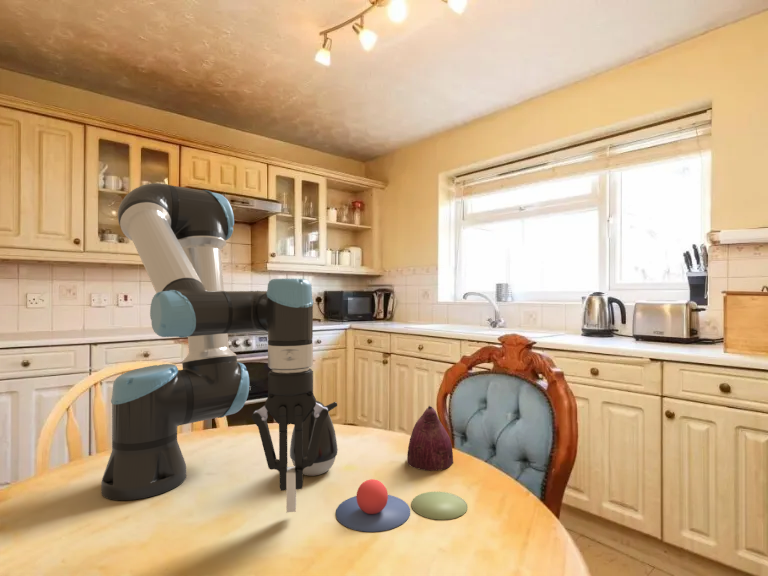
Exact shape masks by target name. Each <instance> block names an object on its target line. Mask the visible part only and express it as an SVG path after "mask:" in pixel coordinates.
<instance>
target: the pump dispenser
mask: <svg viewBox="0 0 768 576" xmlns="http://www.w3.org/2000/svg"><path fill="white" fill-rule="evenodd" d="M316 403H318V404H320V405H321V406H326V407H327V408H328V416H327V417H326V419H325V420H324V422H323V423H322V428H321V432H320V436H319V441H318V445H317V449H316V453H315V458H314V462H313V465H312V466H310V467H306V468H304V469H303V476H309V477H310V476H314V477H315V476H319V475H323V474H325V473H326V472H328V471H329V470H330V469H331V468H332V467H333V465H334V463H335V460H336V456H337V455H338V443H337V442H338V441H337V437H336V430H335V426H334V424H333V421H332V418H331V415H330V413H329V412H331V411H332V410H333V409H335V408H336V407H338V402H336V401H334V402H331V403H330V404H326V405H324V403H323V402H321V401H319V400H316ZM314 411H315V410H314V409H313V410H312V411H311V413H310V414H309V416H308V417H307V418H306V420H305V421H304V422H303V423H302V436H303V458H304V457H306V456H307V452H308V448H309V443H310V439H311V435H312V431H313V426H314V422H315V416H314ZM293 425H294V424H293ZM289 446H290V447H289V457H290V459H291V463H292V465H293V466H295V425H294V426H293V429H292V434H291V440H290V445H289Z"/></svg>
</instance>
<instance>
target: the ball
mask: <svg viewBox="0 0 768 576" xmlns="http://www.w3.org/2000/svg"><path fill="white" fill-rule="evenodd" d="M388 495H389V494H388V490H387V488H386V486H385V484H384V483H383V482H382V481H380V480H377V479H375V478H373V479H372V478H371V479H370V478H369V479H366V480H365V481H364V482H362V483H361V484H360V485H359V487H358V489H357V492H356V495H355V496H356V498H357V503H358V506H359V507H360V509H361V510H362V511H364V512H365V513H367V514H377V513H379V512H380V511H382V510H383V509H384V507H385V506H386V504H387V500H388Z"/></svg>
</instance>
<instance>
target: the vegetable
mask: <svg viewBox="0 0 768 576" xmlns="http://www.w3.org/2000/svg"><path fill="white" fill-rule="evenodd" d="M436 411H437V410H436V409H435V408H434V407H432V406H431V405H428V407H427V408H426V409H425V410H424V412H423V413H422V415H420V417H419V418H418V420H416V422H415V424H414V427H413V429H412V431H411V435H410V438H409V443H408V448H407V455H406V456H407V458H406V461H407V464H408V466H409V467H412V468H414V469H418V470H422V471H425V472H427V471H428V472H436V471H438V472H439V471H442V470H446V469H449V468H450V467H451V466H452V465H453V464H454V454H453V452H454V451H453V445H452V441H451V437H450V436H449V434H448V432H447V430H446V427H444V425H443V423H442V422H441V421H440V419H439V417H438V413H437V412H436Z"/></svg>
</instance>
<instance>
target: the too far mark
mask: <svg viewBox="0 0 768 576" xmlns="http://www.w3.org/2000/svg"><path fill="white" fill-rule="evenodd" d="M410 503H411V508H412V510H413V511H414V512H415V513H416V514H418V515H419V516H421V517H424V518H426V519H431V520H439V521H442V520H443V521H446V520H447V521H448V520H454V519H457V518H460V517H462V516H463V515H465V513H467V511H468V503H467V502H466V500H465V499H464V498H462V497H461V496H458V495H456V494H454V493H452V492H451V493H450V492H446V491H427V492H423V493H420V494H417V495H416V496H415V497H413V498H412V500H411V502H410Z"/></svg>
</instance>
